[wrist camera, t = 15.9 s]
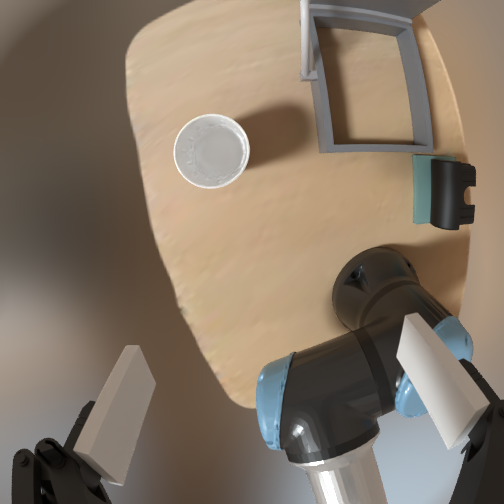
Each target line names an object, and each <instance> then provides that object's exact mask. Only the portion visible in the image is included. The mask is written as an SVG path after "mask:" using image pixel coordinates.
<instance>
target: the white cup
mask: <svg viewBox="0 0 504 504" xmlns="http://www.w3.org/2000/svg"><path fill="white" fill-rule="evenodd" d="M249 155H250V145H249V140H248V137H247V135H246V133H245V131H244V130H243V128H242V127H241V126H240V125H239V124H238V123H237V122H236V121H234V120H233V119H231V118H229V117H227V116H224V115H220V114H205V115H201V116H199V117H196V118H194V119H193V120H191V121H190V122H188V123H187V124H186V125H185V126H184V127H183V128H182V129H181V131H180V132H179V134H178V136H177V138H176V141H175V145H174V160H175V163H176V166H177V168H178V170H179V172H180V173H181V175H182V176H183V177H184V178H185V179H186V180H187V181H189V182H190V183H192V184H194V185H196V186H199V187H202V188H219V187H223V186H226V185H228V184H230V183H232V182H233V181H234V180H236V179H237V178H238V177H239V176H240V175H241V174H242V172H243V171H244V169H245V168H246V166H247V163H248V160H249Z"/></svg>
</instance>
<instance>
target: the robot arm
mask: <svg viewBox="0 0 504 504" xmlns="http://www.w3.org/2000/svg"><path fill="white" fill-rule="evenodd" d="M332 302H333V307H334V310H335V312H336V314H337V316H338V318H339V320H340V321H341V322H342V324H343V325H344V326H345V327H346V328H348V329H349V330H351V332H349V333H346V334H344V335H341V336H339V337H336V338H334V339H331V340H329V341H326V342H324V343H321V344H319V345H316V346H313V347H311V348H308V349H305V350H302V351H300V352H292V353H290V355H288V356H286V357H283V358H281V359H278V360H275V361H273V362H270V363H268V364H267V365H266V366H264V368H263V369H262V370H261V372H260V374H259V377H258V381H257V387H256V407H257V415H258V421H259V426H260V430H261V433H262V436H263V438H264V440H266V444H267V446H268V447H269V448H270V449H272V450H278V451H280V450H283V449H284V450H285V451H286V454H287V457H288V460H289V462H290V463H291V464H292V465H295V466H297V467H300V468H303V469H304V470H305V471H306V474H307V477H308V480H309V483H310V486H311V489H312V492H313V495H314V498H315V501H316V504H388V503H387V499H386V495H385V491H384V488H383V484H382V481H381V476H380V473H379V469H378V466H377V462H376V459H375V455H374V452H373V448H372V446H373V444H374V442H375V440H376V439H377V437H378V435H379V434H380V428H379V426H378V422H377V418H378V417H380V416H382V415H384V414H387V413H389V412H391V411H393V410H395V409H396V411H397V412H398V413H399V414H401V415H402V416H404V417H407V418H412V417H414V416H416V417H418V416H421V415H423V414H425V413H427V412H429V414H430V416H431V418H432V420H433V421H434V423H435V425H436V427H437V429H438V431H439V433H440V434H441V436H442V439H443V440H444V442H445V444H446V446H447V448H448V450H449V449H451V448H453V447H455V446H457V445H459V444H461V443H462V442H463V441H464V439H465V438H466V437H467V436H469V438H470V441H469V442H468V443H467V444H466V446H465V447H464V448H463V449H462V451H461V454H462V453H463V452H464V451H465V450H466V453H465V457H464V461H463V464H462V468H461V471H460V474H459V477H458V480H457V483H456V486H455V489H454V492H453V495H452V497H451V500H450V502H449V504H504V400H500V399H499V397H498V396H497V395H496V393H495V392H494V391H493V389H492V388H491V387H490V386H489V384H488V383H487V382H486V380H485V379H484V378H482V375H480V373H479V372H478V370H477V369H476V368H475V367H474V365H473V364H472V363H471V360H472V355H473V342H472V339H471V336H470V335H469V333H468V332H467V331H466V330H465V328H464V327H463V326H462V324H461V323H460V321H459V320H458V318H457V317H455V316H453V315H452V314H451V313H450V312H449V311H448V310H447V309H446V308H445V307H443V306H442V305H441V304H440V303H439V302H438V301H437V300H436V299H435V298H434V297H433V296H432V295H431V294H429V293H428V292H427V291H426V290H425V289H424V288H423V287H422V286H421V285H420V282H419V280H418V277H417V275H416V273H415V270H414V268H413V266H412V265H411V263H410V262H409V261H408V260H407V259H406V258H405V257H404V256H403V255H401V254H400V253H399V252H397V251H395V250H393V249H389V248H373V249H369V250H366V251H364V252H362V253H360V254H358V255H357V256H355V257H354V258H353V259H351V260H350V261H349V262H348V263H347V264H346V265H345V266H344V268H343V269H342V270H341V272H340V273H339V275H338V277H337V279H336V281H335V284H334V287H333V293H332ZM155 385H156V383H155V380H154V378H153V376H152V374H151V372H150V370H149V367H148V365H147V363H146V361H145V358H144V356H143V353H142V352H141V349H140V346H139V345H126V347H125V349H124V350H123V352H122V354H121V355H120V357H119V359H118V361H117V363H116V365H115V367H114V368H113V370H112V372H111V374H110V376H109V378H108V380H107V382H106V383H105V386H104V387H103V389H102V391H101V393H100V395H99V397H98V399H97V401H96V402H95V401H89V403H87V405H85V406H84V407H83V408H82V410H81V412H80V414H79V418H77V420H76V422H75V425H74V426H73V428H72V430H71V432H70V434H69V436H68V438H67V440H66V442H65V445H64V447H62V446H61V445H60V444H59V443H58V442H57V441H55V440H54V439H52V438H44V439H43V440H41V441H39V442H38V444H37V445H36V447H35V453H34V454H35V455H36V456H35V455H34V454H33V453H32V452H31V451H30V450H28V449H21V450H19V451H18V452H16V454H15V456H14V459H13V469H12V504H112V503H111V501H110V499H109V497H108V495H107V493H106V491H105V489H104V487H103V485H102V484H101V482H100V479H101V477H102V478H104V479H105V480H106V481H107V482H109V483H113V484H116V485H121V486H123V485H124V482H125V478H126V475H127V472H128V468H129V465H130V461H131V458H132V455H133V452H134V449H135V445H136V442H137V439H138V436H139V433H140V429H141V427H142V424H143V421H144V418H145V414H146V411H147V408H148V406H149V403H150V400H151V397H152V394H153V391H154V388H155ZM41 489H42V493H41Z"/></svg>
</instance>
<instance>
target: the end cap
mask: <svg viewBox="0 0 504 504" xmlns="http://www.w3.org/2000/svg"><path fill="white" fill-rule="evenodd" d="M469 186H476V169H475V167H474V166H471V165H470V164H466V163H461V162H458V161H450V160H442V159H431V211H430V223H431V224H432V225H433V226H435V227H438V228H441V229H446V230H459V225H463V224H472V223H473V222H474V212H475V205H467V204H466V203H465V202H464V191H465V189H466V188H467V187H469Z"/></svg>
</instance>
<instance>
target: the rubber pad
mask: <svg viewBox="0 0 504 504" xmlns="http://www.w3.org/2000/svg"><path fill="white" fill-rule="evenodd" d="M412 156H413V182H414V207H413V223H414V224H425V223H430V211H431V159H442V160H450V161H456V157H445V156H427V155H412Z"/></svg>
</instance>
